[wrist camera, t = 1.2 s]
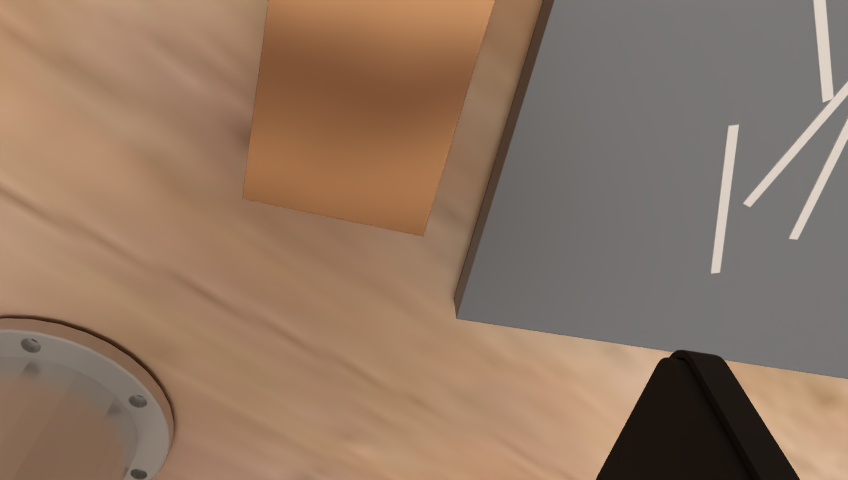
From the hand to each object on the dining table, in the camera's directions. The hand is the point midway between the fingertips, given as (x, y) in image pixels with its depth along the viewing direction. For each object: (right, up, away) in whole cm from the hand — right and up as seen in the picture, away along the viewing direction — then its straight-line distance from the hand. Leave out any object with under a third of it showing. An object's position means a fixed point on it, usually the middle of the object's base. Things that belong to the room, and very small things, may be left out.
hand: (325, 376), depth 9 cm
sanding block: (-1, +9, +16) cm, 18 cm away
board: (+16, +7, +18) cm, 25 cm away
